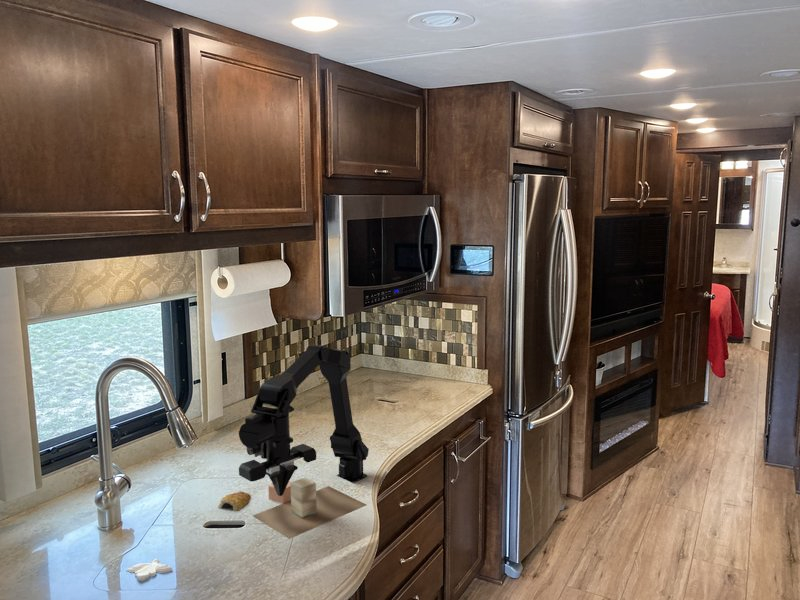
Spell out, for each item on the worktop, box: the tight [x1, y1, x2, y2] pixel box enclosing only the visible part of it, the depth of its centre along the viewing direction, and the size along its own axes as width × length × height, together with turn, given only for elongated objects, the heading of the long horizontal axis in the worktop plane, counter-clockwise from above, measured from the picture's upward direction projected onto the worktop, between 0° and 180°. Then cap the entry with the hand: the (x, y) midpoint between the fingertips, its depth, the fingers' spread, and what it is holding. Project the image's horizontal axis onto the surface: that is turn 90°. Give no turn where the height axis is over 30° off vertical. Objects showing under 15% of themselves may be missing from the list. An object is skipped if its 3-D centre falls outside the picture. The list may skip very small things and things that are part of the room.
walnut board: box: [252, 485, 367, 539], centre depth 163 cm, size 24×16×1 cm, turn 134°
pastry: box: [217, 491, 251, 511], centre depth 168 cm, size 9×7×4 cm
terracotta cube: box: [267, 480, 292, 504], centre depth 170 cm, size 5×5×5 cm
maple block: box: [290, 476, 317, 519], centre depth 161 cm, size 4×4×8 cm
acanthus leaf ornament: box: [126, 558, 173, 582], centre depth 139 cm, size 8×7×2 cm
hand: (280, 495), depth 156 cm, fingers closed
